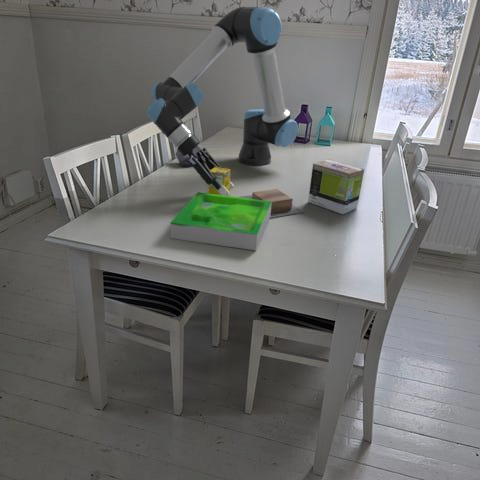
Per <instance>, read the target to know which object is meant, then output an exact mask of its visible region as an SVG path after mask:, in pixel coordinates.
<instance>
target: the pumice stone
mask: <svg viewBox="0 0 480 480" xmlns="http://www.w3.org/2000/svg"><path fill="white" fill-rule="evenodd" d="M175 156H176V157H177V160H178V163H179V164H180V165H182V166H184V167H190V168H191V167H193V166H192V165H190V164H189V162H188V161H189V160H190V157H189V156H188V154H187V155H186V156H183V155H182V154H181V153H180V152H179V151H178V149H177V150H176V152H175Z"/></svg>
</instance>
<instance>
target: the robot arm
mask: <svg viewBox="0 0 480 480" xmlns="http://www.w3.org/2000/svg"><path fill="white" fill-rule="evenodd" d="M282 30H283V27H282V21H281V18H280V16H279V14H278V13H277V12H276V11H275V10H274V9H273V8H270V7H264V6H251V7H250V6H240V7H236V8H234V9H232V10H231V11H229V12H228V13H226V15H224V16H223V17H222V18H221V19H220V20H218V21H217V23H216V24H215V25H213V26H212V28H211V33H210V34H209V35H208V36H207V37H206V38H205V39H204V40H203V41H202V42H201V43H200V44H199V45H198V46H197V47H196V49H194V50H193V52H191V53H190V55H189V56H187V57H186V59H185V60H184V61H183V62H181V64H180V65H179V66H178V67H177V68H176V69H175V70H174V71H173V72H172V73H171V74H170V75H169V76H168V77H167V78H166V79H165V80H164V81H163V82H156V83H155V84H153V86H152V88H151V89H150V91H151V93H150V94H151V98H152V100H153V101H154V102H153V103H152V104H151V105H149V106H148V108H147V110H146V114H147V116H148V117H149V119H150V120H151V122H153V124H154V125H155V126H156V127H157V128H158V129H159V130H160V132H162V133H163V135H165V137H166V138H167V139H168V140H169V143H171V144H172V145H173V146H174V147H177V150H178V151H179V152H180V153H181V154H182V155H183V156H186V155H187V154H188V156H189V157H190V160H189V161H188V162H189V164H190V165H192V166H191V167H192V168H193V169H194V171H195V172H197V174H198V175H199V176H200V177H201V178H202V180H203V181H204V182H205V183H206V184H207V186H209V185H210V184H212V185H213V186H214V187H215V189H216V190H217V191H218V192H219V193H220V194H221V195H225V196H226V195H228V194H229V193H230V192H229V191H228V190H227V189H226V188H225V187H224V185H223V184H222V183H221V182H220V181H219V180H218V179H216V178H215V177H214V175H213V174H212V172H211V171H210V170H211V169H213V168H214V167H219V168H223V167H222V166H221V165H220V163H218V161H217V160H216V159H215V158H214V157H213V156H212V155H211V154H210V153H209V151H208V150H207V148H205V147H203V148H200V147H199V144H200V143H201V142H200V140H199V139H198V138H197V136H196V135H195V134H192V132H193V131H192V130H191V128H189V127H188V126H187V125H186V124H185V122H184V121H183V119H184V118H185V117H186V116H187V115H189V114H190V113H191V112H193V111H194V110H195V109H196V108H198V106H199V105H200V104H201V103H202V102H203V101H204V94H203V92H202V90H201V89H200V87H199V86H198V85H197V84H196V83H194V82H196V80H198V79H199V78H200V76H201V75H203V73H204V72H206V70H208V68H209V67H210V66H211V65H212V64H213V63H214V62H215V61H216V60H217V59H218V57H220V56H221V54H223V53H224V52H225V50H230V49H231V48H232V47H233V46H234V45H236V44H237V43H244V44H245V47H246V52H247V53H248V54H249V55H251V56H252V59H253V65H254V69H255V74H256V79H257V83H258V88H259V92H260V97H261V102H262V106H263V108H261V109H259V108H257V109H256V108H255V109H254V108H253V109H249V110H246V111H245V113H244V118H243V138H242V139H243V140H242V141H243V142H242V145H241V148H240V150H239V153H238V161H239V162H240V163H242V164H245V165H248V166H249V165H250V166H265V165H269V164H270V163H271V162H272V154H271V151H270V146H269V144H271V145H274V146H276V147H281V148H287V147H289V146H291V145H292V143H294V141H295V140H296V138H297V136H298V132H299V125H298V123H297V121H295V120H294V119H292V118H291V112H290V110H289V108H286V105H285V100H284V94H283V88H282V82H281V77H280V73H279V68H278V60H277V54H276V49H277V46H279V42H278V41H279V40H280V38H281V34H282V32H283V31H282ZM234 187H235V185H234V183H233V182H231V180H230V190H232V189H233V188H234Z"/></svg>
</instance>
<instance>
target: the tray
mask: <svg viewBox="0 0 480 480" xmlns="http://www.w3.org/2000/svg"><path fill="white" fill-rule="evenodd" d="M271 204H272V201H265V200H257V199H249V198H241V196H234V195H233V196H232V195H229V196H225V195H217V194H209V193H208V192H200V191H199V192H197V193H196V194H195V195H194V196H193V197H192V198H191V199H190V201H188V203H187V204H186V205H185V206H184V207H183V208H182V209H181V210H180V212H178V214H177V215H176V216H175V217H174V218H173V219H172V220H171V221H170V239H177V240H182V241H189V242H195V243H201V244H202V243H203V244H210V245H215V246H223V247H230V248H236V249H244V250H249V251H257V250H258V246H259V244H260V242H261V239H262V237H263V234H264V232H265V230H266V227H267V225H268V223H269V220H270V219H269V218H270V216H271Z"/></svg>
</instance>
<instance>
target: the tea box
mask: <svg viewBox="0 0 480 480" xmlns="http://www.w3.org/2000/svg"><path fill="white" fill-rule="evenodd" d="M364 174H365V169H364V168H362V167H358V166H354V165H351V164H347V163H344V162H340V161H335V160H332V159H325V160H322V161H321V160H320V161H318V162H315V163H314V162H313V163H312V169H311V175H310V176H311V177H310V183H309V191H308V192H309V193H308V203H310V204H313V205H315V206H319V207H321V208H323V209H327V210H330V211H333V212H335V213H338V214H341V215H345V214H347V213H350V212H352V211H354V210H355V209H357V208H358V204H359V202H360V201H359V199H360V194H361V189H362V184H363V179H364V178H363V177H364Z"/></svg>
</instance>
